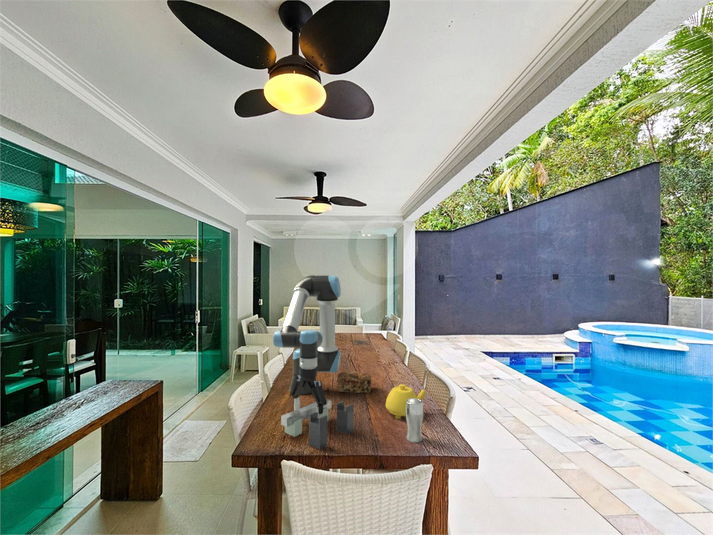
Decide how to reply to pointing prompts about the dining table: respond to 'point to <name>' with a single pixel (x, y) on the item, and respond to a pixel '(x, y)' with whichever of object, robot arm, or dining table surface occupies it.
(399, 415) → the teapot
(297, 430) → the rest
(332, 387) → the dining table surface
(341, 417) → the post
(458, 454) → the dining table surface
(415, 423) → the beer glass
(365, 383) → the bread
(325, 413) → the rest
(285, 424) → the rail
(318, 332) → the robot arm
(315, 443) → the post
